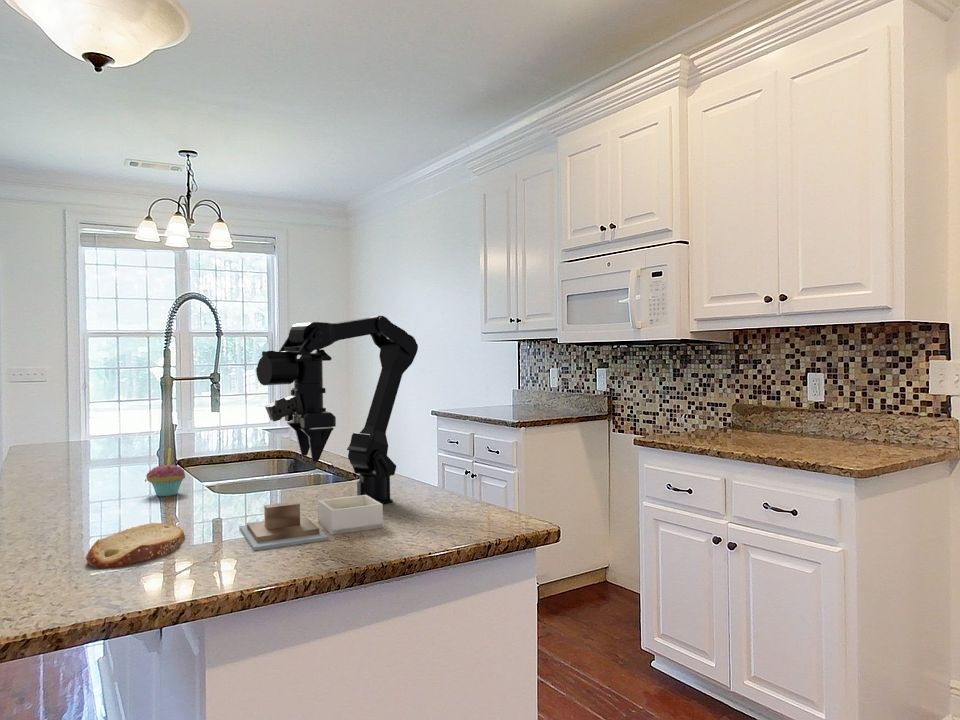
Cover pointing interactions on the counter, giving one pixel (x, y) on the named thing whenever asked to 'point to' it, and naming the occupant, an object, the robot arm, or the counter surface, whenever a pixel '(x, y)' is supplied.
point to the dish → (350, 514)
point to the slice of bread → (135, 545)
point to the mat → (281, 540)
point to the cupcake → (166, 478)
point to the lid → (282, 523)
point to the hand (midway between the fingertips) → (309, 458)
